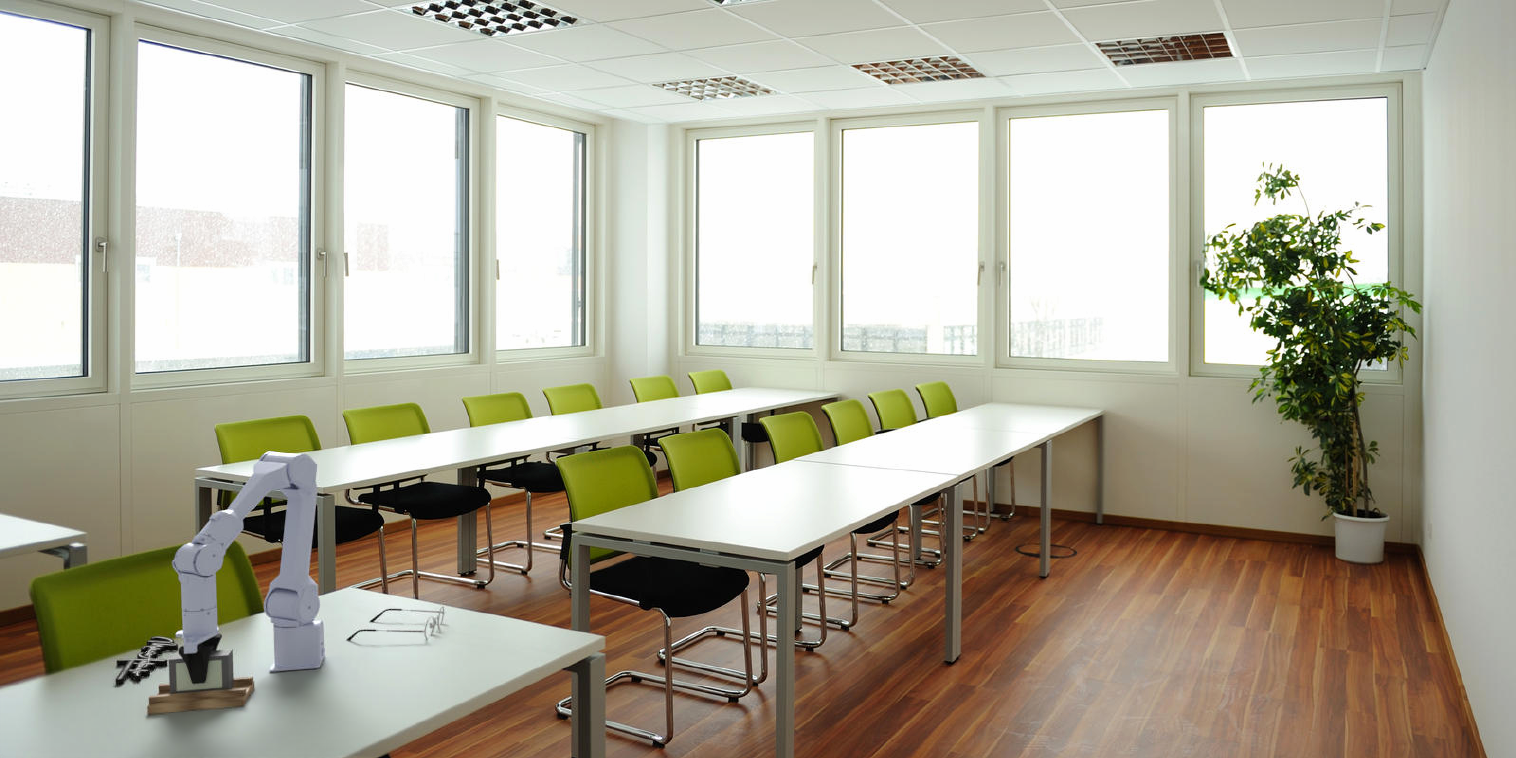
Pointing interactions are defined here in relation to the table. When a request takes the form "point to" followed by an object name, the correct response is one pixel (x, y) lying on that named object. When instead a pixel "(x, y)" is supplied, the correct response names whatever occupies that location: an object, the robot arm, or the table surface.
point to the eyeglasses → (408, 630)
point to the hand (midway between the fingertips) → (202, 678)
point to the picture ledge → (201, 698)
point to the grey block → (217, 673)
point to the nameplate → (145, 659)
